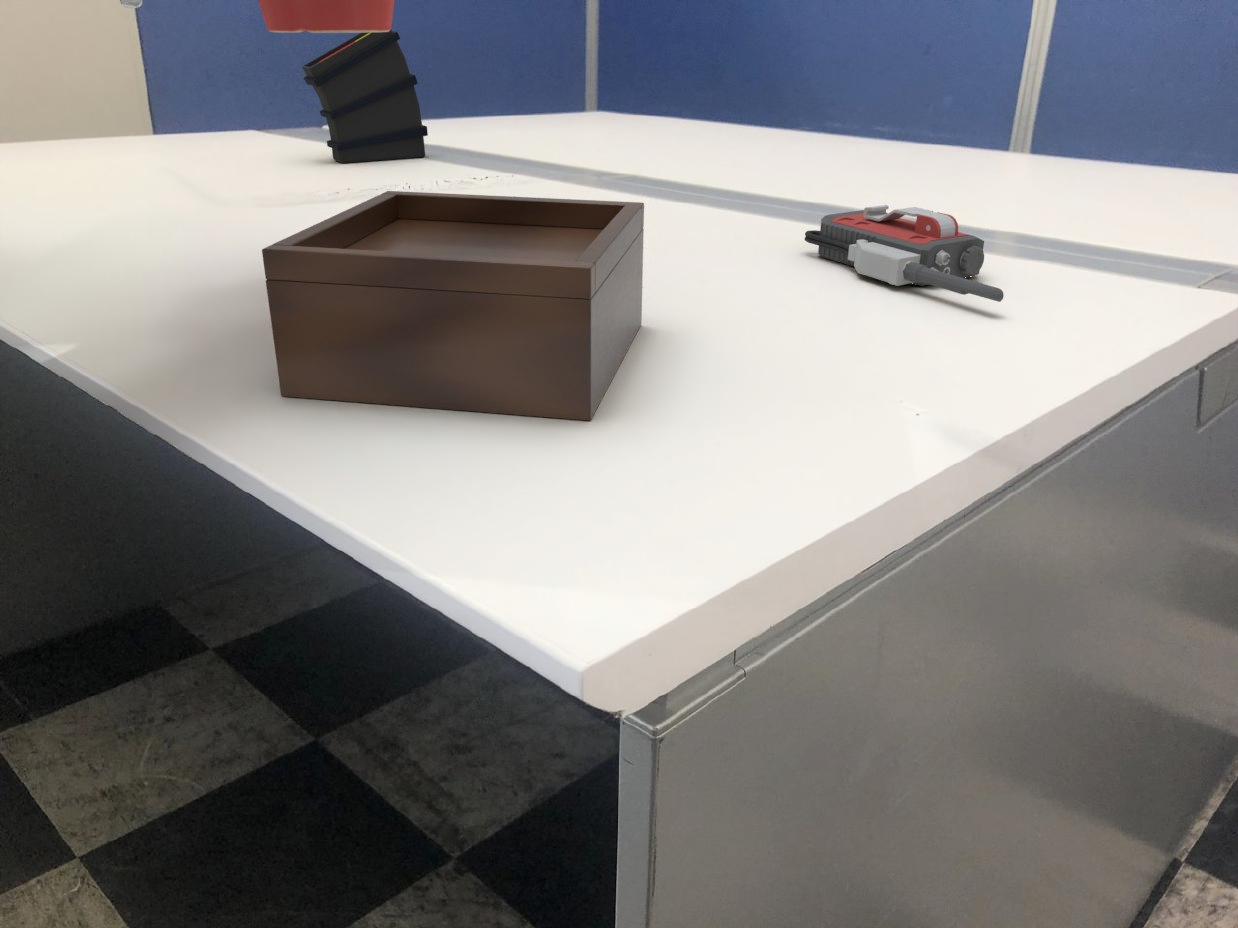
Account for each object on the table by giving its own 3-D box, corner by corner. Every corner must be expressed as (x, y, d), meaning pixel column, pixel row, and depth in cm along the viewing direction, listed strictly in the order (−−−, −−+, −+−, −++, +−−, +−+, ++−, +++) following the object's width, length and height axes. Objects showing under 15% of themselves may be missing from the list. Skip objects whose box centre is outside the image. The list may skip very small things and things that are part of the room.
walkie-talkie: (781, 255, 81) (986, 320, 65) (785, 199, 79) (998, 251, 64) (862, 243, 85) (1072, 301, 70) (868, 189, 83) (1086, 236, 68)
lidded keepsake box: (280, 396, 52) (260, 249, 49) (396, 309, 66) (387, 190, 63) (590, 421, 49) (591, 267, 46) (641, 324, 64) (644, 202, 61)
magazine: (451, 141, 126) (392, 22, 117) (362, 197, 122) (294, 78, 113) (438, 138, 128) (380, 20, 119) (351, 192, 125) (284, 76, 116)
